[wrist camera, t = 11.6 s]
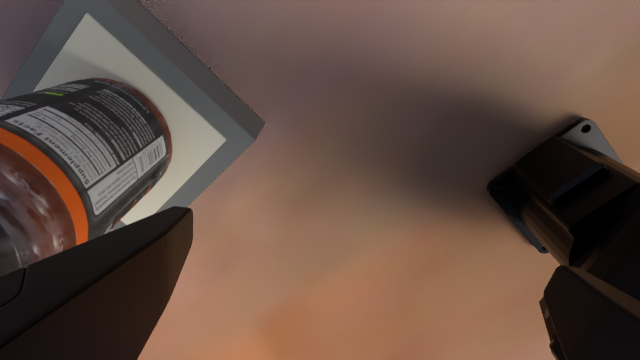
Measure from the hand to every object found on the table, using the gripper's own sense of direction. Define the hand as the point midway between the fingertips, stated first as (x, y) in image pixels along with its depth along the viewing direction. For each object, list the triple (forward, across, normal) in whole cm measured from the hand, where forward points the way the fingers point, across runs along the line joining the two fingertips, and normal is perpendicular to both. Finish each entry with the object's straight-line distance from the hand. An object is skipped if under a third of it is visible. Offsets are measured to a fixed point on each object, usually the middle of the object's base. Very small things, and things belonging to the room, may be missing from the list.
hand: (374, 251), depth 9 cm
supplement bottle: (+10, +12, +2) cm, 16 cm away
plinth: (+13, +12, +2) cm, 18 cm away
